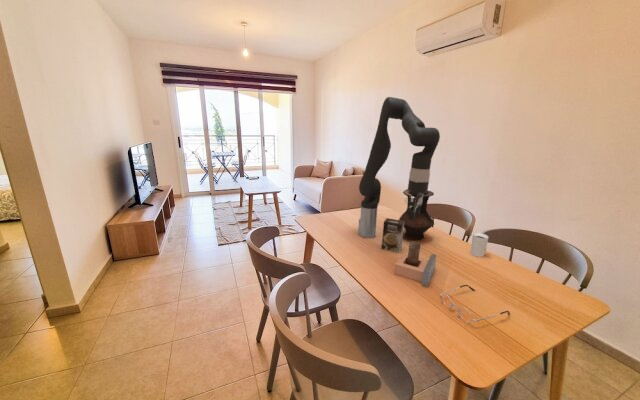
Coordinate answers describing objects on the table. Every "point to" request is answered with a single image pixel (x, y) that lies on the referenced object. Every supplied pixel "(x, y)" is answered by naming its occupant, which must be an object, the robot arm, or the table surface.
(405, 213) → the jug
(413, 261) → the dowel
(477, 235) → the drinking glass
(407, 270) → the holder
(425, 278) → the rail base
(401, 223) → the coffee box
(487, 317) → the eyeglasses
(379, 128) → the robot arm
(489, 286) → the table surface
